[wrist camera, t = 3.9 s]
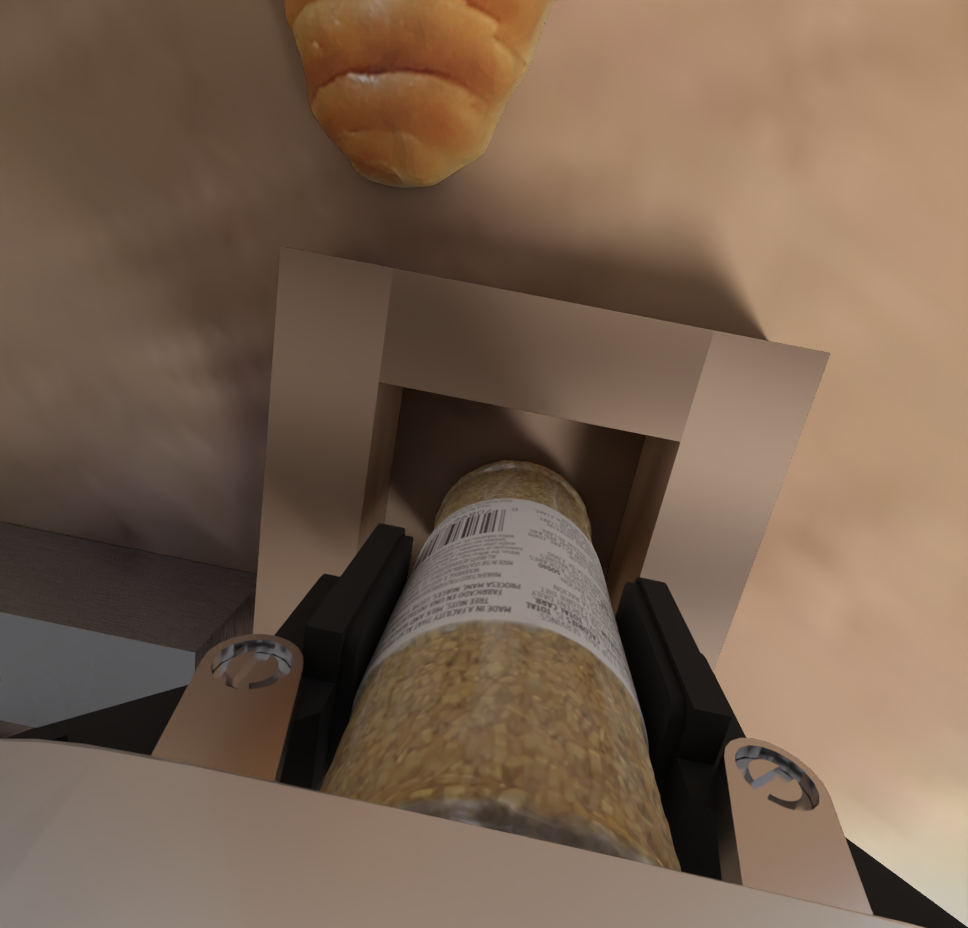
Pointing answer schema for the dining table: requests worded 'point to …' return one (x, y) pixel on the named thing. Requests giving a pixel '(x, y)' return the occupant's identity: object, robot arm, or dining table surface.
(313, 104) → the pastry
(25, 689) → the block
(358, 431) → the holder ring
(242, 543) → the dining table surface
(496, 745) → the sprinkles bottle
